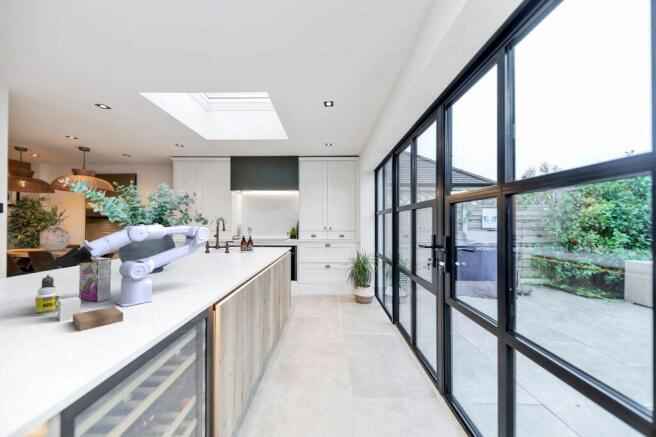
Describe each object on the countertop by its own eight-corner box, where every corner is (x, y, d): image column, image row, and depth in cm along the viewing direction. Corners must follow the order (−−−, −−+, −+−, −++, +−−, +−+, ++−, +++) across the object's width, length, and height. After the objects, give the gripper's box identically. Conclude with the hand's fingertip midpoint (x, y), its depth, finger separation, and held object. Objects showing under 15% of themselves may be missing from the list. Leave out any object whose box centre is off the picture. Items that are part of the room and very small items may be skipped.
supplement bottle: (42, 316, 86) (42, 290, 86) (31, 315, 87) (31, 289, 87) (59, 311, 90) (60, 287, 90) (49, 310, 91) (49, 286, 91)
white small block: (77, 314, 88) (77, 296, 88) (80, 317, 85) (80, 299, 85) (57, 318, 84) (58, 299, 85) (60, 321, 82) (60, 302, 82)
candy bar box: (77, 299, 104) (78, 257, 104) (92, 296, 109) (93, 256, 109) (96, 302, 100) (97, 259, 100) (110, 299, 105) (112, 258, 105)
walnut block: (113, 315, 89) (113, 306, 89) (122, 322, 83) (123, 313, 83) (72, 324, 81) (73, 314, 81) (80, 332, 75) (80, 322, 75)
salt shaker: (31, 309, 92) (32, 275, 92) (53, 304, 97) (54, 272, 97) (39, 312, 90) (40, 276, 90) (62, 306, 95) (63, 273, 95)
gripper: (95, 234, 97) (46, 252, 87) (107, 234, 89) (55, 254, 79) (104, 251, 100) (58, 270, 89) (118, 252, 91) (68, 274, 81)
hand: (57, 264), depth 84 cm, fingers open, 7 cm apart
